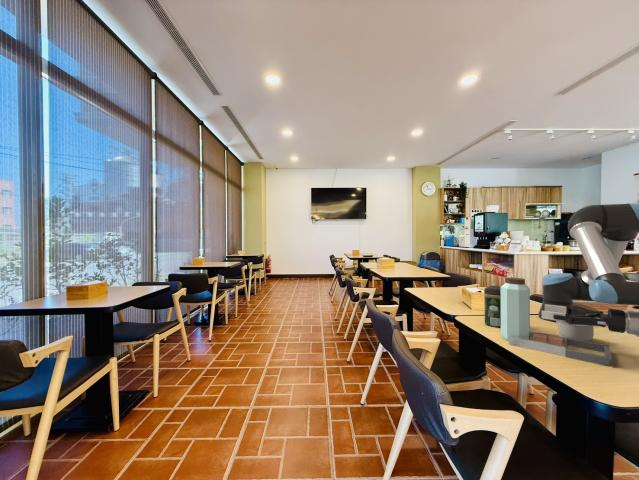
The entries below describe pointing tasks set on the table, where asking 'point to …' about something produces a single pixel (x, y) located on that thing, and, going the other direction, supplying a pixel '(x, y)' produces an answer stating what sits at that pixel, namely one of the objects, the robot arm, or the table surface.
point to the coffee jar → (492, 306)
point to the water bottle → (515, 309)
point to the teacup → (575, 331)
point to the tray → (587, 356)
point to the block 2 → (555, 340)
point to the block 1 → (540, 337)
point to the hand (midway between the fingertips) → (543, 310)
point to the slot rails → (539, 344)
